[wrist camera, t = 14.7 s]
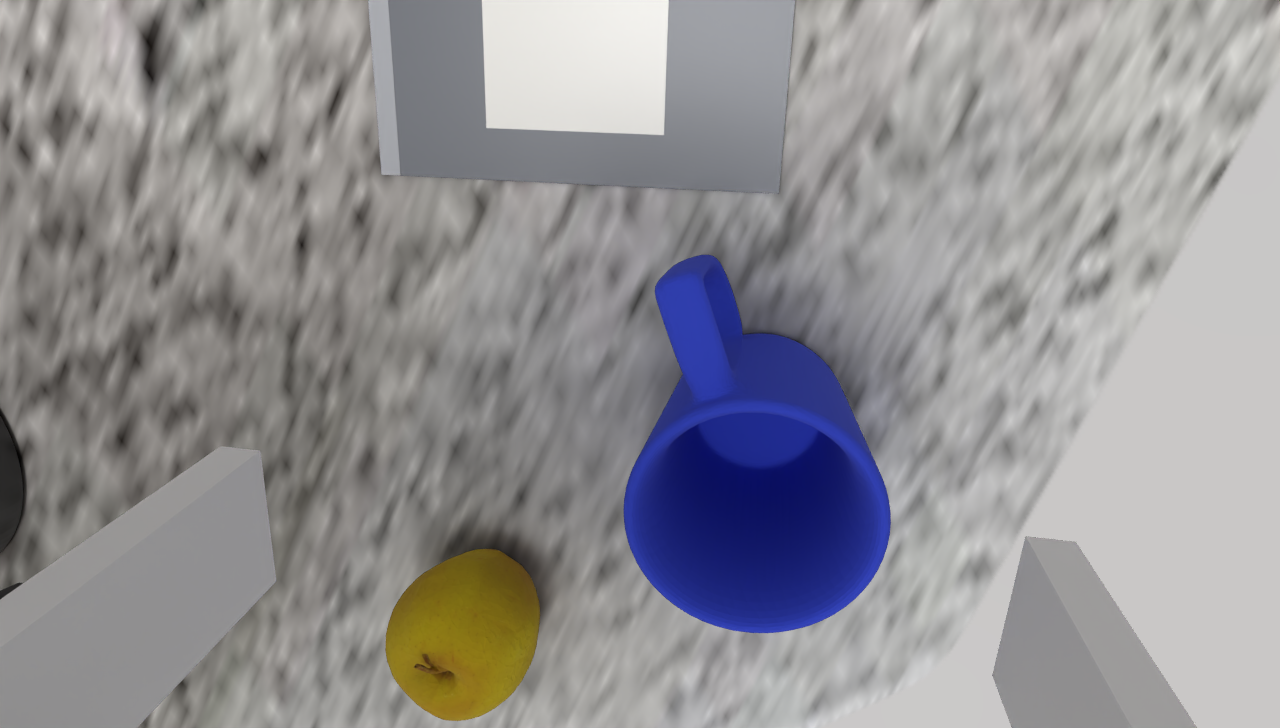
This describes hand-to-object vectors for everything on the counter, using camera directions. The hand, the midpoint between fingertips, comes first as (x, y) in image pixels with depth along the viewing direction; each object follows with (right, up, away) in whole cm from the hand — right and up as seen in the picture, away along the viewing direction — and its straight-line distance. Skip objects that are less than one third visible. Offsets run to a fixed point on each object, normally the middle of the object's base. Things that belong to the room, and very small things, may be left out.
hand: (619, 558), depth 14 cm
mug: (+5, +4, +20) cm, 21 cm away
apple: (-7, -7, +26) cm, 28 cm away
